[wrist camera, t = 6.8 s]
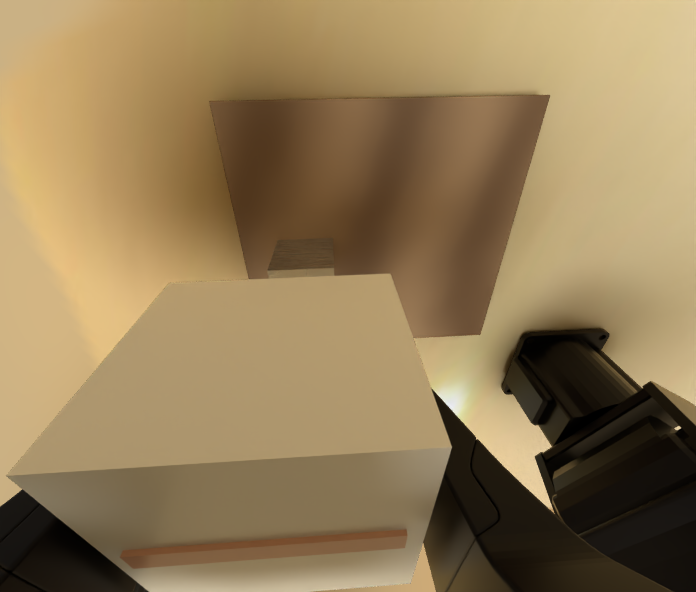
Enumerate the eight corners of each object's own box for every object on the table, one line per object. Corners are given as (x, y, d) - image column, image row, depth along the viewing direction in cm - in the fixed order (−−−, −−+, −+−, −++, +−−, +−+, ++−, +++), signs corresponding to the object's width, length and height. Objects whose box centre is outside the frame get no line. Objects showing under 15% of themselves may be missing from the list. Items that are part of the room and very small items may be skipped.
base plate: (537, 94, 14) (550, 95, 14) (474, 325, 22) (480, 334, 21) (216, 101, 14) (209, 101, 13) (266, 335, 22) (263, 345, 21)
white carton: (390, 273, 8) (454, 454, 4) (381, 410, 12) (411, 588, 7) (168, 282, 8) (-1, 483, 4) (222, 419, 12) (161, 609, 7)
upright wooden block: (332, 237, 17) (334, 268, 14) (333, 257, 17) (335, 290, 15) (277, 239, 17) (267, 270, 14) (280, 259, 17) (271, 293, 14)
